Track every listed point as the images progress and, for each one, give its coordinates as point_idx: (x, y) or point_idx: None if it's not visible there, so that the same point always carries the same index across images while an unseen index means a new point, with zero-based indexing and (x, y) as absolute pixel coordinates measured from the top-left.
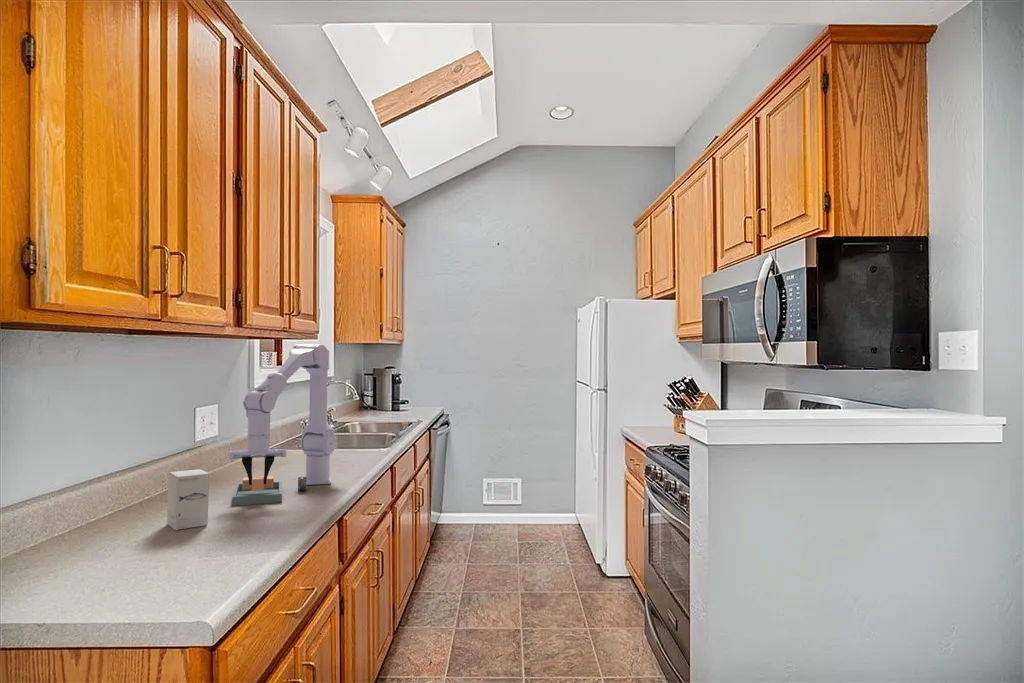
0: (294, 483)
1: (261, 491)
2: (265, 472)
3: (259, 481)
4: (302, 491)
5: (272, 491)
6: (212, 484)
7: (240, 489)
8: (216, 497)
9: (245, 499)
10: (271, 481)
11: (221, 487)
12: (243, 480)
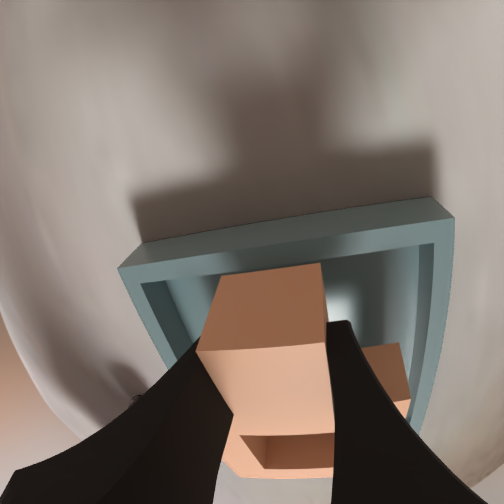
0: (219, 472)
1: None
2: (157, 409)
3: (242, 330)
4: (139, 397)
5: None
6: (456, 468)
7: None
8: (486, 361)
9: (358, 221)
10: None
11: (442, 456)
12: (404, 399)
